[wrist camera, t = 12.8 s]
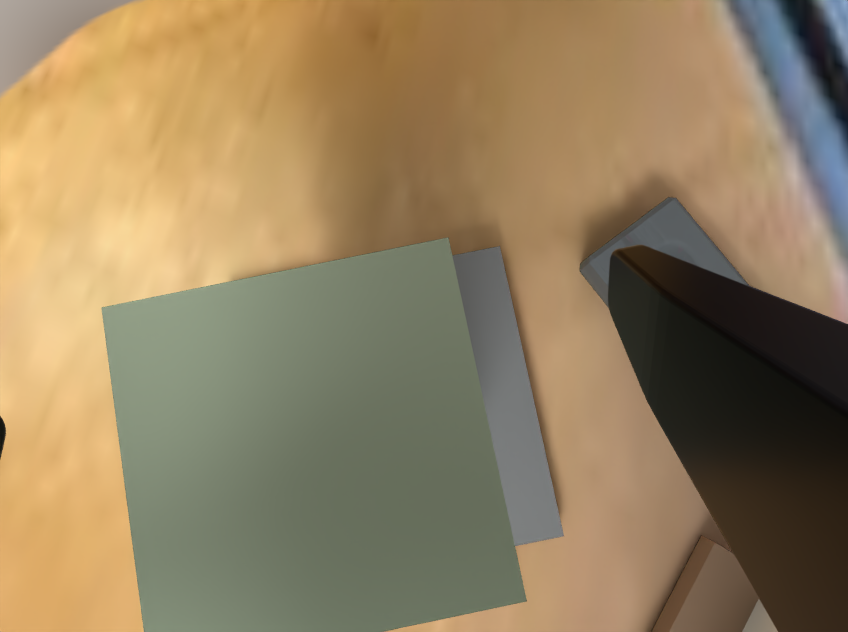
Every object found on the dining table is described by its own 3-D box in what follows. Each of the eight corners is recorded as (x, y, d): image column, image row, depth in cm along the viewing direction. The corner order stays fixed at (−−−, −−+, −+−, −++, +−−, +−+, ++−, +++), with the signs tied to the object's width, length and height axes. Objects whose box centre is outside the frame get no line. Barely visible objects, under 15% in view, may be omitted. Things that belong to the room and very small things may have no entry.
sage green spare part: (465, 468, 20) (526, 602, 7) (334, 495, 20) (150, 681, 7) (438, 337, 20) (448, 237, 8) (310, 363, 20) (101, 308, 8)
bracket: (756, 500, 21) (790, 511, 19) (572, 269, 22) (586, 257, 20) (839, 432, 21) (881, 436, 19) (653, 209, 23) (675, 190, 21)
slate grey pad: (557, 529, 21) (563, 536, 20) (273, 587, 20) (265, 596, 19) (496, 252, 22) (499, 246, 21) (230, 305, 22) (220, 301, 21)
